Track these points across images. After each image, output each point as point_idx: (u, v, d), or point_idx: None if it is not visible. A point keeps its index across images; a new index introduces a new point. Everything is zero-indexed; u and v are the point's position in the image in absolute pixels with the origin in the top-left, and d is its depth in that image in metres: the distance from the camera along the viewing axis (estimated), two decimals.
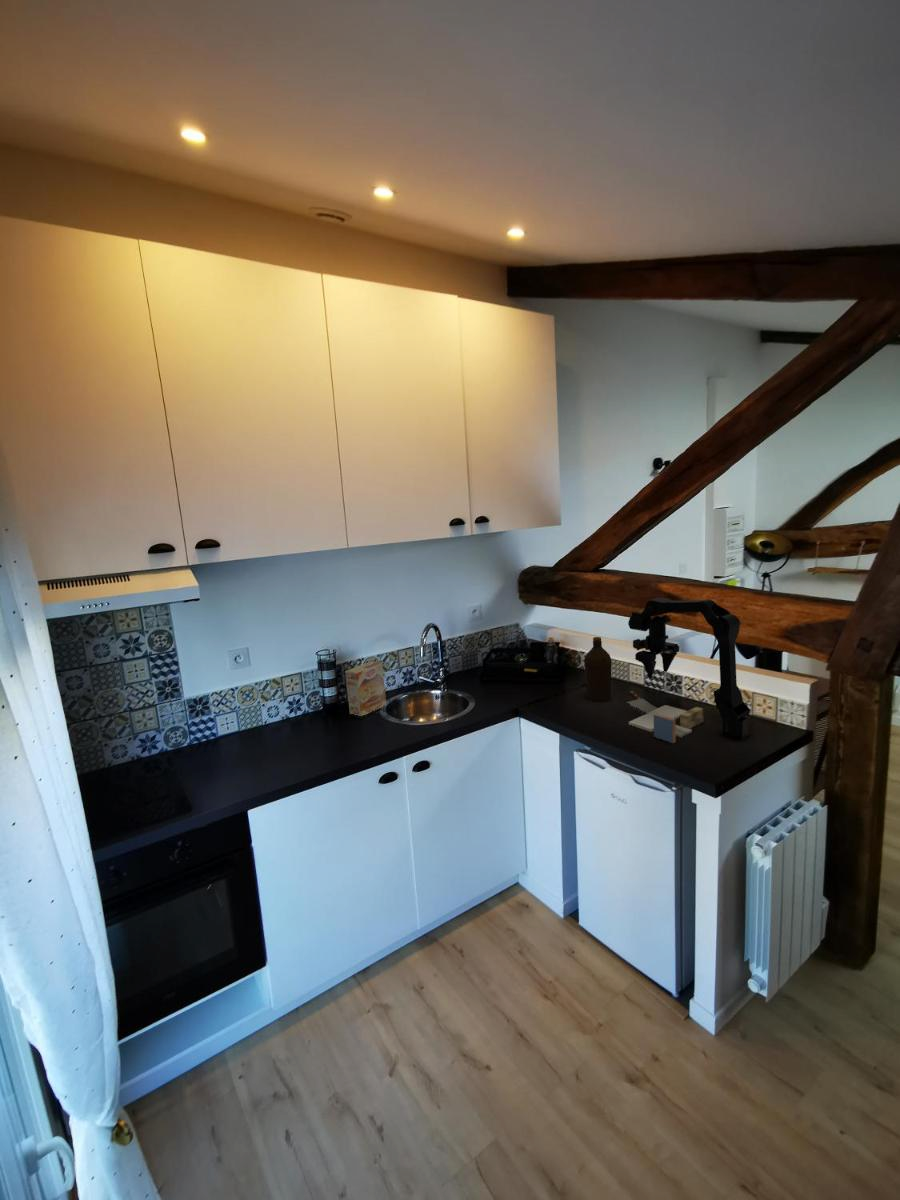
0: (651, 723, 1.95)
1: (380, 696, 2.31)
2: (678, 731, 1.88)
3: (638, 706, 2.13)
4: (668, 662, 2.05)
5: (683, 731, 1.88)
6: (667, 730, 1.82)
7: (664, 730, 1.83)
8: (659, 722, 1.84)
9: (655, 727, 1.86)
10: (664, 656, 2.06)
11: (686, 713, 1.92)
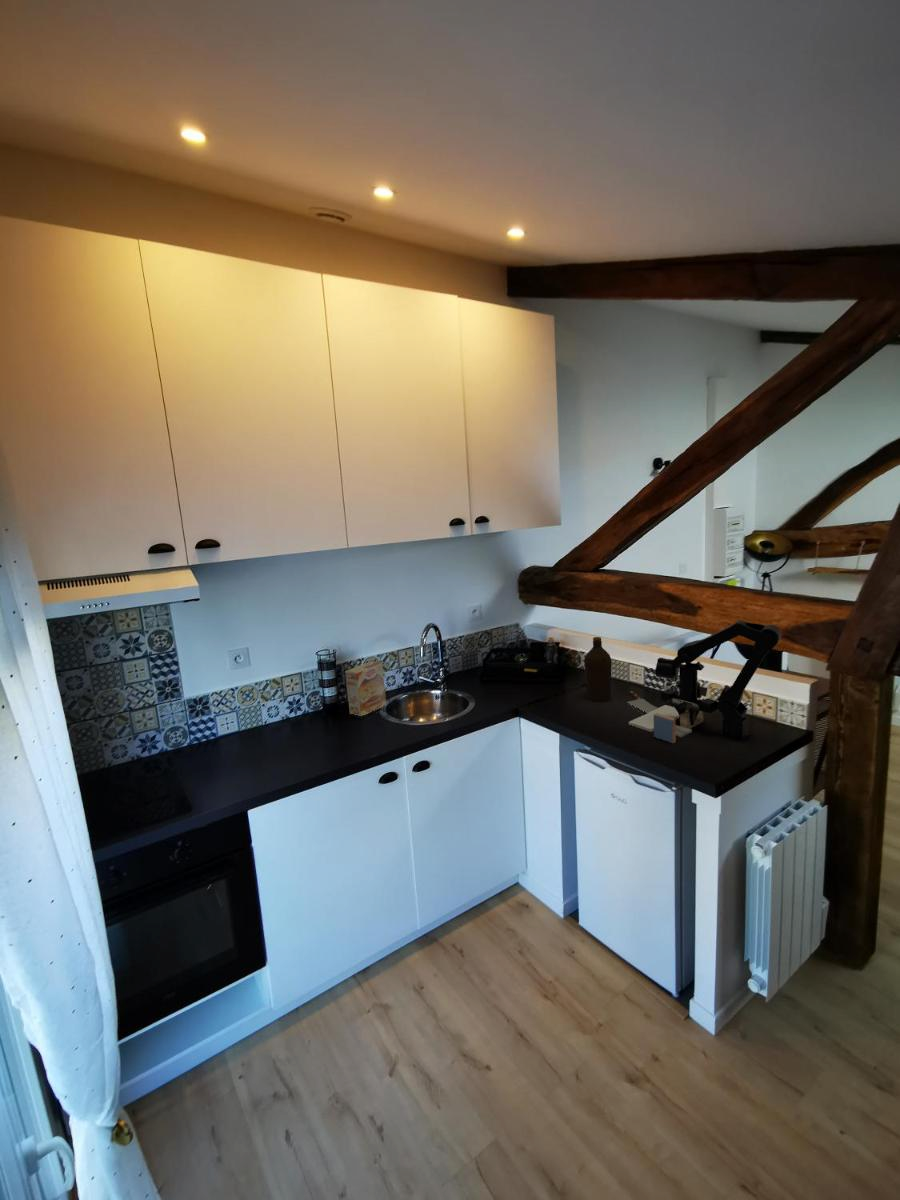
0: (651, 723, 1.95)
1: (380, 696, 2.31)
2: (678, 731, 1.88)
3: (638, 706, 2.13)
4: None
5: (683, 730, 1.88)
6: (667, 730, 1.82)
7: (664, 730, 1.83)
8: (659, 722, 1.84)
9: (655, 727, 1.85)
10: None
11: (686, 713, 1.92)
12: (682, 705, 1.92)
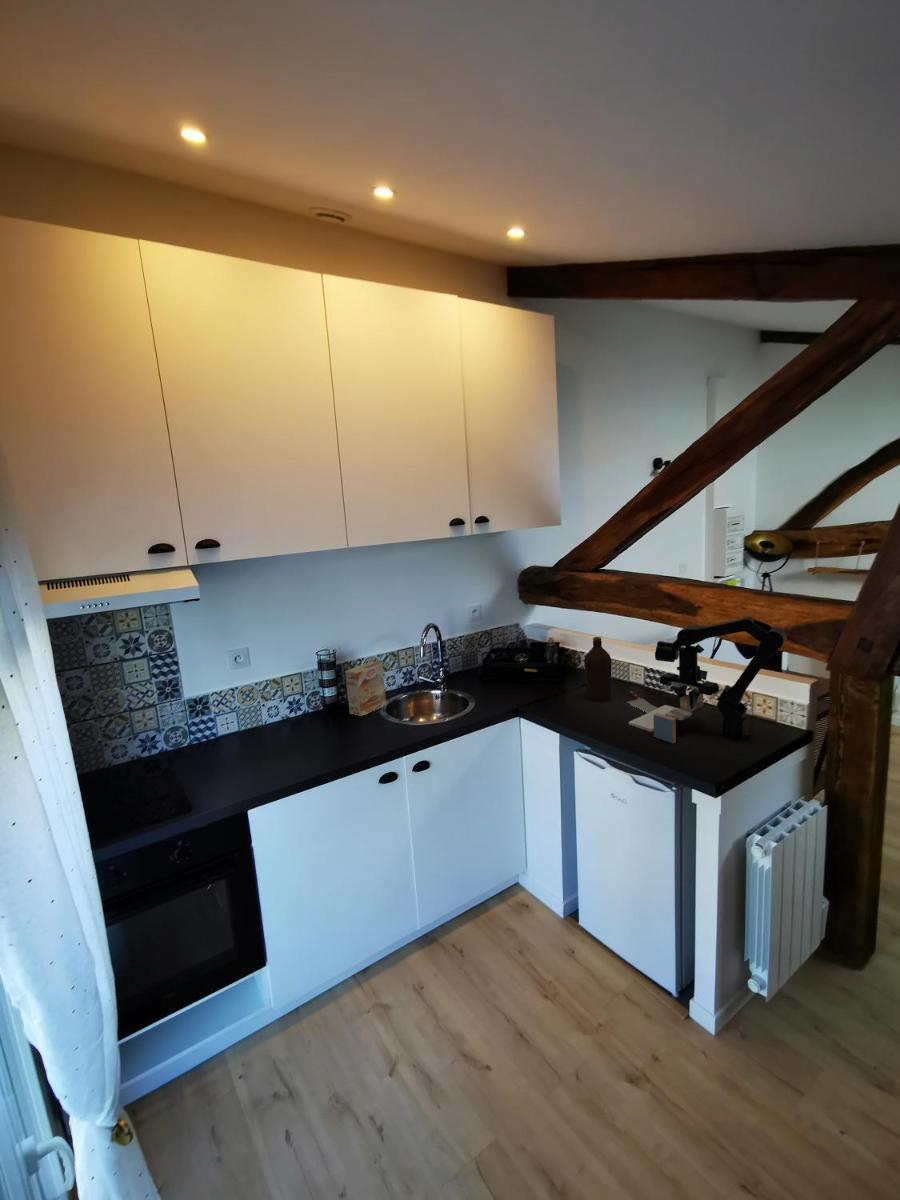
0: (651, 723, 1.95)
1: (381, 696, 2.31)
2: (678, 714, 1.87)
3: (638, 706, 2.13)
4: None
5: (683, 714, 1.87)
6: (667, 730, 1.82)
7: (664, 730, 1.83)
8: (659, 722, 1.84)
9: (655, 727, 1.86)
10: None
11: (686, 696, 1.90)
12: (682, 688, 1.91)
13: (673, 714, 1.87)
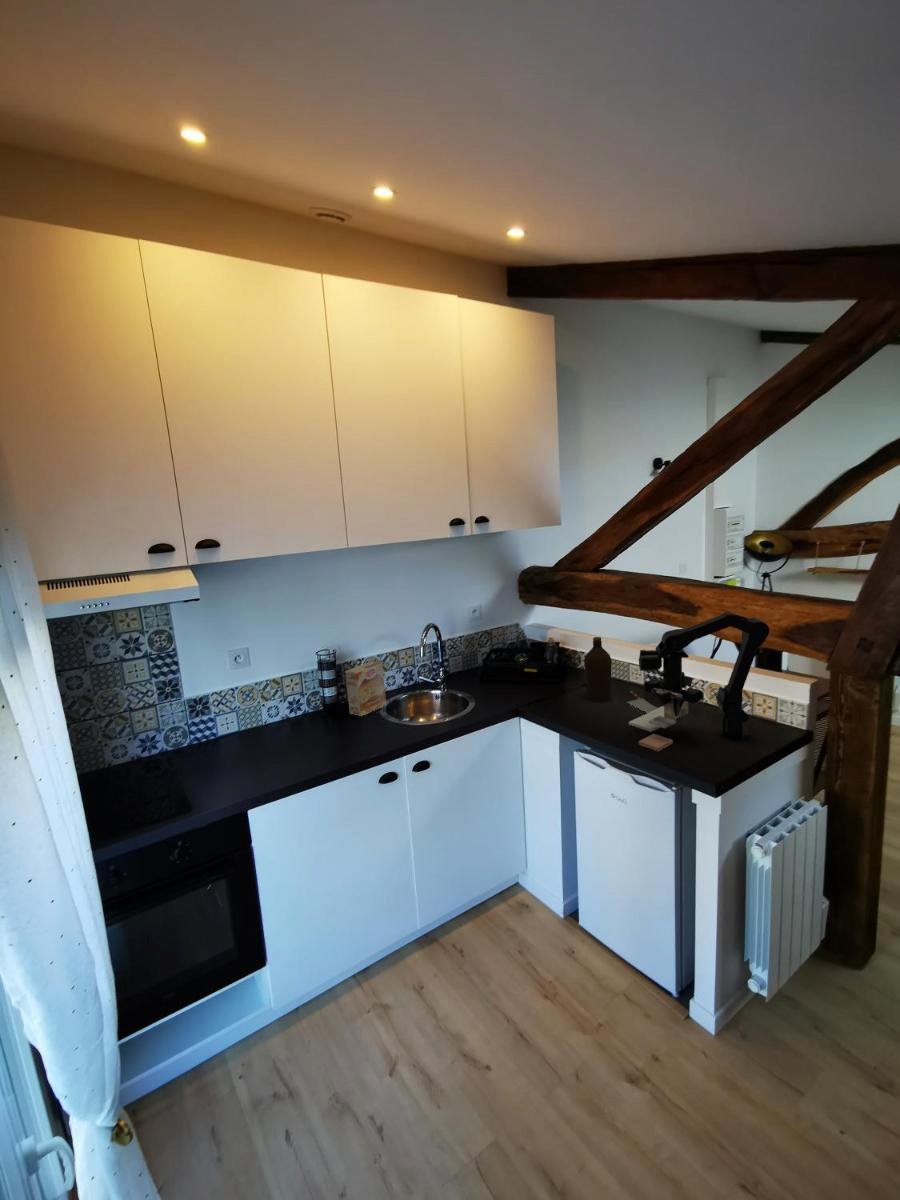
0: None
1: (380, 696, 2.31)
2: (661, 722, 1.82)
3: (638, 706, 2.13)
4: None
5: (667, 721, 1.82)
6: None
7: None
8: None
9: None
10: None
11: (670, 703, 1.85)
12: (666, 695, 1.86)
13: (656, 722, 1.82)
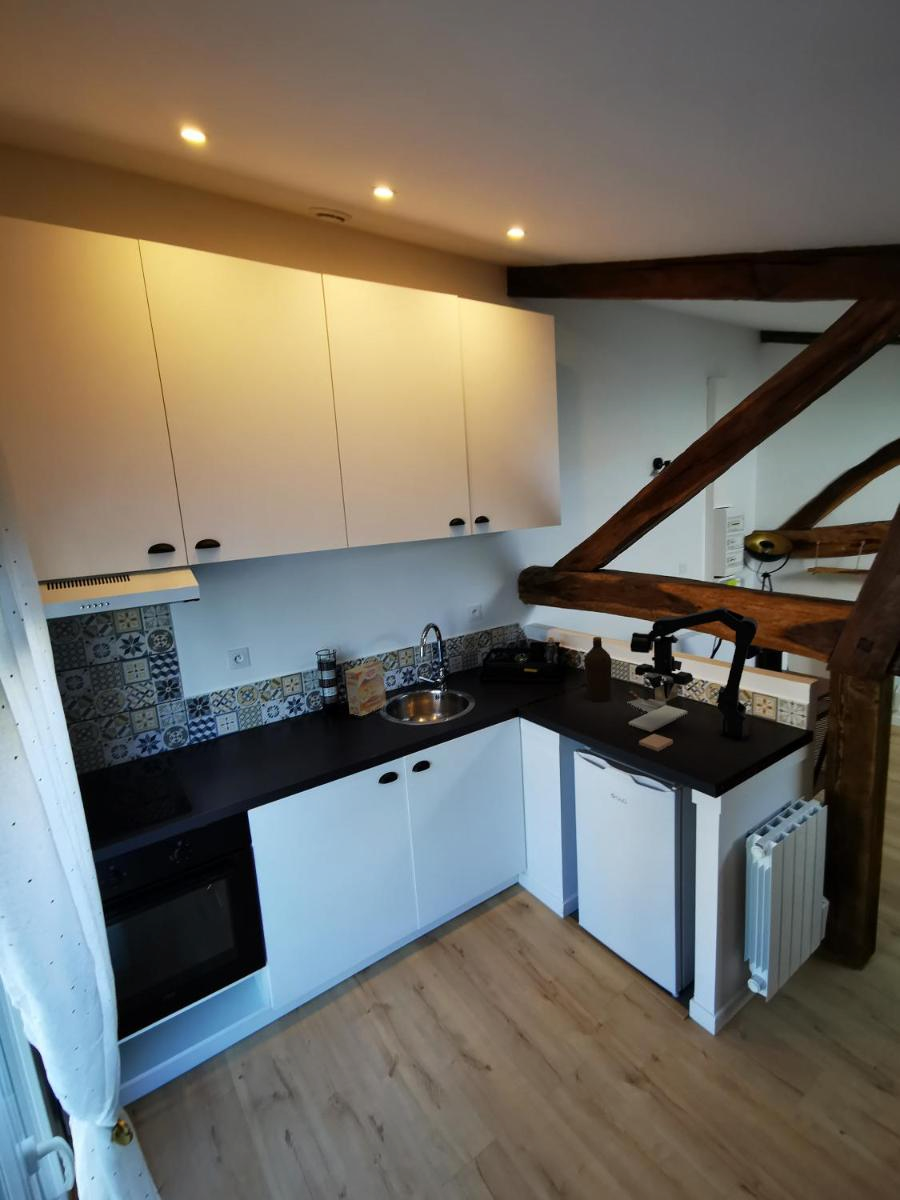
0: (651, 723, 1.95)
1: (381, 696, 2.31)
2: (653, 704, 1.89)
3: (638, 706, 2.13)
4: None
5: (658, 703, 1.89)
6: None
7: None
8: None
9: None
10: None
11: (661, 686, 1.93)
12: (657, 679, 1.94)
13: (648, 704, 1.89)
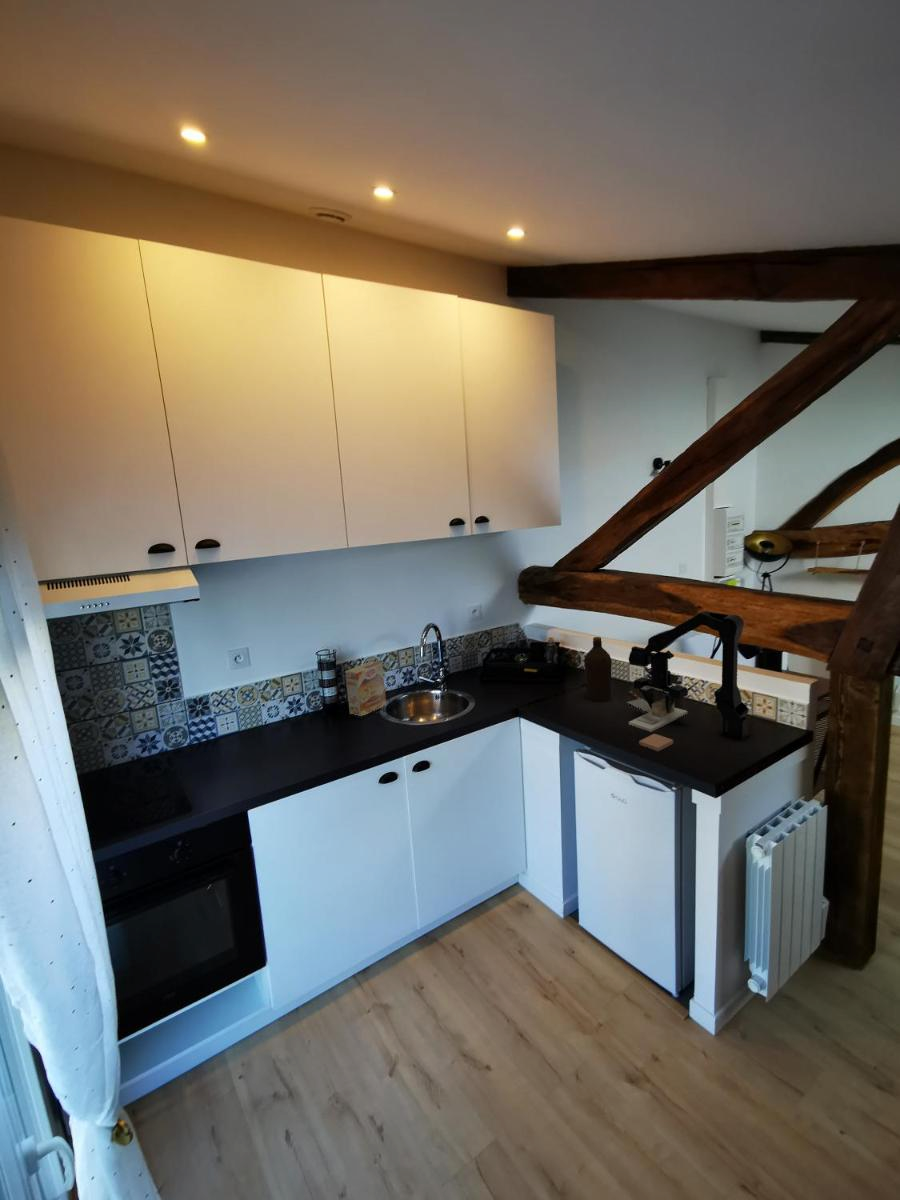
0: None
1: (380, 696, 2.31)
2: (649, 719, 1.96)
3: (638, 706, 2.13)
4: None
5: (654, 719, 1.96)
6: None
7: None
8: None
9: None
10: None
11: (657, 702, 2.00)
12: (649, 691, 2.02)
13: (645, 719, 1.97)
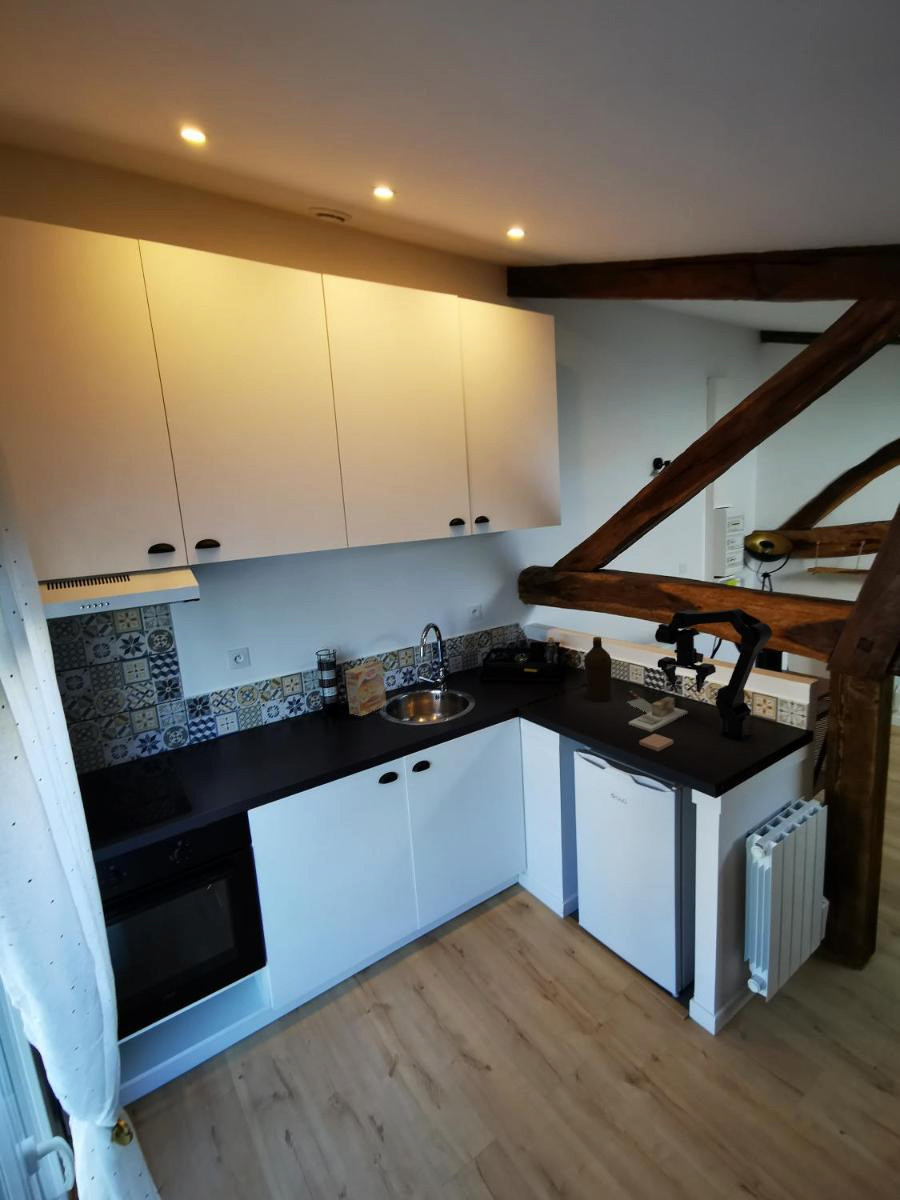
0: None
1: (381, 696, 2.31)
2: (649, 719, 1.96)
3: (638, 706, 2.13)
4: None
5: (654, 719, 1.96)
6: None
7: None
8: None
9: None
10: None
11: (657, 702, 2.00)
12: (671, 670, 1.99)
13: (645, 719, 1.97)
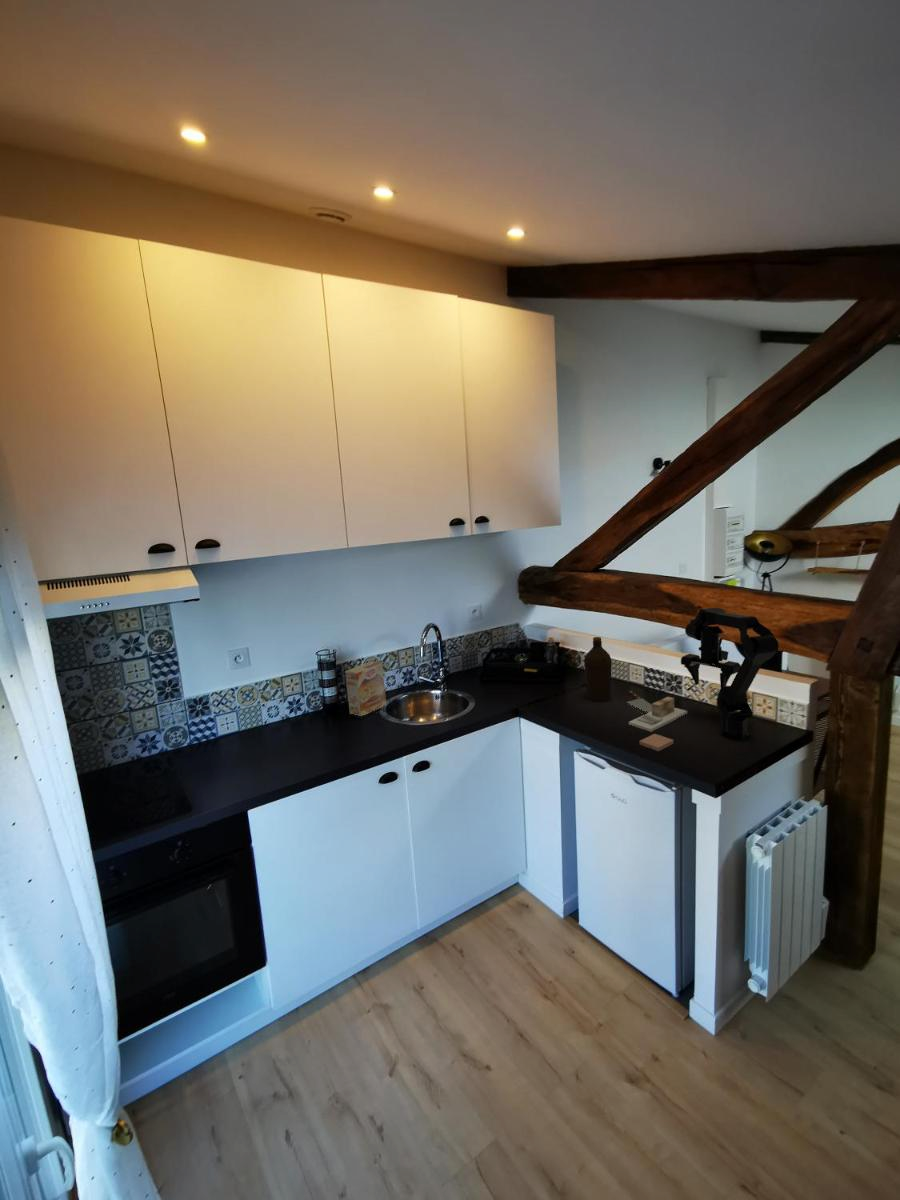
0: None
1: (381, 696, 2.31)
2: (649, 719, 1.96)
3: (638, 706, 2.13)
4: None
5: (654, 719, 1.96)
6: None
7: None
8: None
9: None
10: None
11: (657, 702, 2.00)
12: (695, 667, 1.97)
13: (645, 719, 1.97)
